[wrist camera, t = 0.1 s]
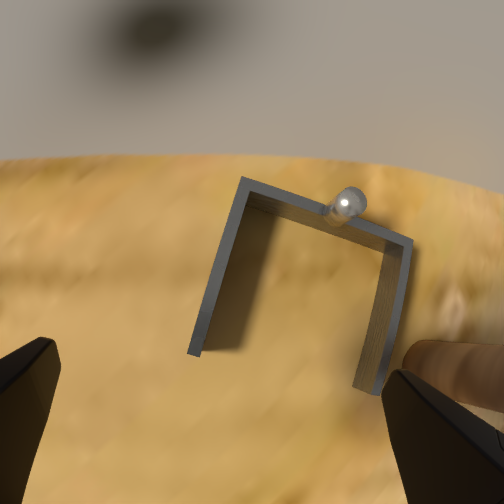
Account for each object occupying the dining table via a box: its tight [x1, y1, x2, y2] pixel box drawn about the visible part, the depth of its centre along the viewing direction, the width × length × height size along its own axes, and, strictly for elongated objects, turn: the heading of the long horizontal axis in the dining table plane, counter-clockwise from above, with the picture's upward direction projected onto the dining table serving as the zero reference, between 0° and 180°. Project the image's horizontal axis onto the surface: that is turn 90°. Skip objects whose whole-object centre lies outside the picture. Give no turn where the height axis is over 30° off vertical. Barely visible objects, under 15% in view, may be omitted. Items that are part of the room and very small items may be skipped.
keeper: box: [187, 176, 413, 396], centre depth 21 cm, size 12×14×6 cm
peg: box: [402, 340, 504, 413], centre depth 17 cm, size 4×4×14 cm
